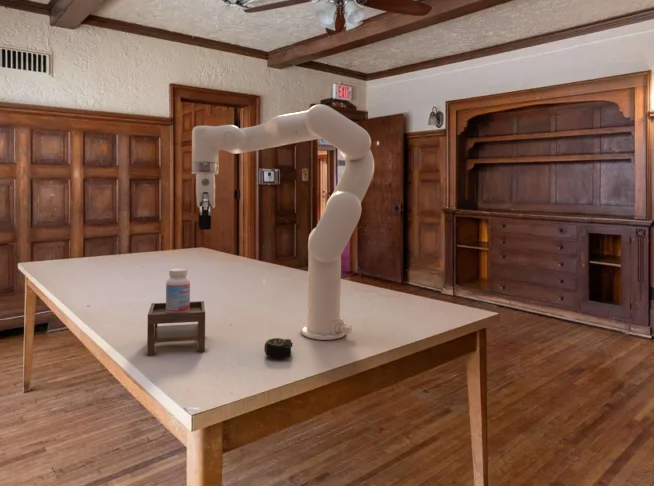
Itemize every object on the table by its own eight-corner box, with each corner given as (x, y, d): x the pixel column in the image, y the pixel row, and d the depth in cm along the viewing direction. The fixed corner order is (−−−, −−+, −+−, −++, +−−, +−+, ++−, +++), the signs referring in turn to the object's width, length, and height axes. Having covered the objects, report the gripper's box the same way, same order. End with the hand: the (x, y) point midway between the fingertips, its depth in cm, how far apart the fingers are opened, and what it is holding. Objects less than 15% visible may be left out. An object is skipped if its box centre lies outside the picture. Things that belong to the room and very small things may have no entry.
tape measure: (290, 361, 112) (291, 346, 112) (262, 360, 113) (262, 345, 113) (292, 352, 119) (293, 337, 119) (266, 351, 120) (266, 336, 119)
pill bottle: (183, 315, 119) (183, 272, 119) (161, 314, 120) (161, 270, 120) (193, 309, 125) (194, 268, 125) (172, 308, 126) (173, 267, 126)
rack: (203, 337, 130) (204, 301, 130) (204, 351, 118) (205, 312, 118) (151, 340, 127) (151, 303, 127) (147, 355, 115) (147, 314, 115)
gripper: (220, 168, 127) (219, 230, 127) (216, 170, 144) (216, 225, 144) (191, 167, 125) (191, 230, 125) (191, 170, 142) (191, 225, 142)
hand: (204, 228), depth 135 cm, fingers open, 9 cm apart
